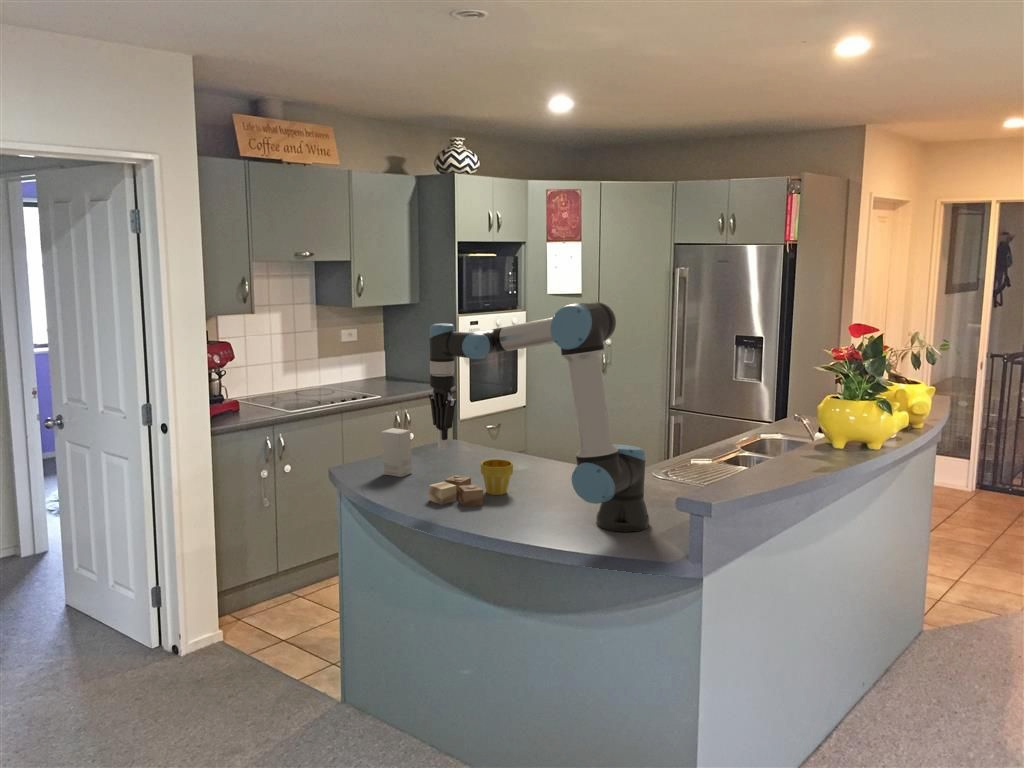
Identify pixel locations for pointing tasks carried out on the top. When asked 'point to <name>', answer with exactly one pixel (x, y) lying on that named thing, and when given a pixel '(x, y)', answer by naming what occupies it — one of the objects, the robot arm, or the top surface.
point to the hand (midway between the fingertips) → (442, 449)
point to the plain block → (442, 492)
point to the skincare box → (396, 452)
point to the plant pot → (496, 475)
